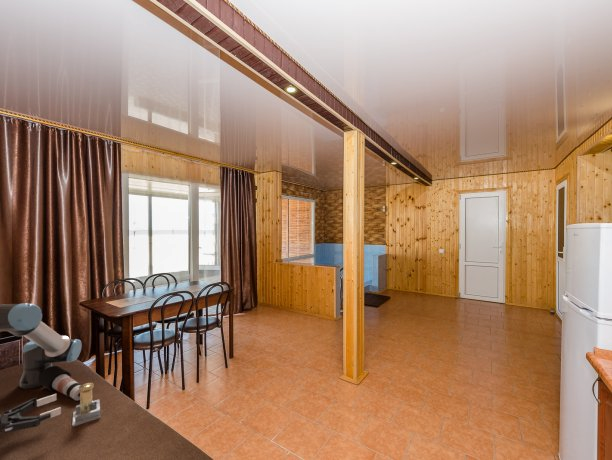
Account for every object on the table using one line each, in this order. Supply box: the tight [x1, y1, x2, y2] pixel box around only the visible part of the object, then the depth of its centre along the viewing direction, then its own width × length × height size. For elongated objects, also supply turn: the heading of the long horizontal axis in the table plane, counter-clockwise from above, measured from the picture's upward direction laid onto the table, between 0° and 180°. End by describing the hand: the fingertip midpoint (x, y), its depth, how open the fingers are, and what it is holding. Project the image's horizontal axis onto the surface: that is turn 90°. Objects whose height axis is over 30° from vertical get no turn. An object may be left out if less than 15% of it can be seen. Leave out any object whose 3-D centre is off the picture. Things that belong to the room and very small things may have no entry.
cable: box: [39, 365, 82, 401], centre depth 153 cm, size 10×34×10 cm, turn 65°
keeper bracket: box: [71, 399, 101, 427], centre depth 136 cm, size 11×10×4 cm
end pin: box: [79, 382, 95, 414], centre depth 136 cm, size 6×6×13 cm
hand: (58, 403), depth 129 cm, fingers open, 13 cm apart
